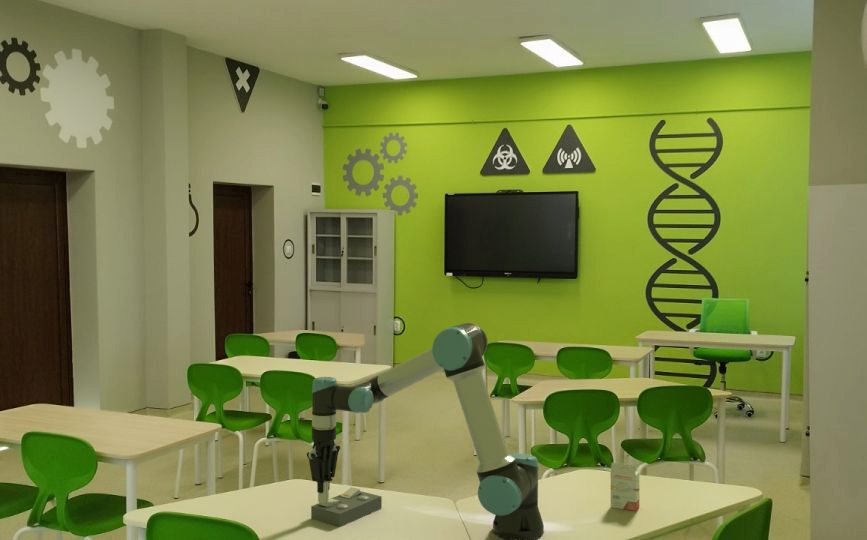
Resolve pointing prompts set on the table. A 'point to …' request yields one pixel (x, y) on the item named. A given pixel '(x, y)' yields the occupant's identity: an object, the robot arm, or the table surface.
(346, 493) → the rocker
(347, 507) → the switch panel
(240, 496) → the table surface
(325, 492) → the robot arm
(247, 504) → the table surface
